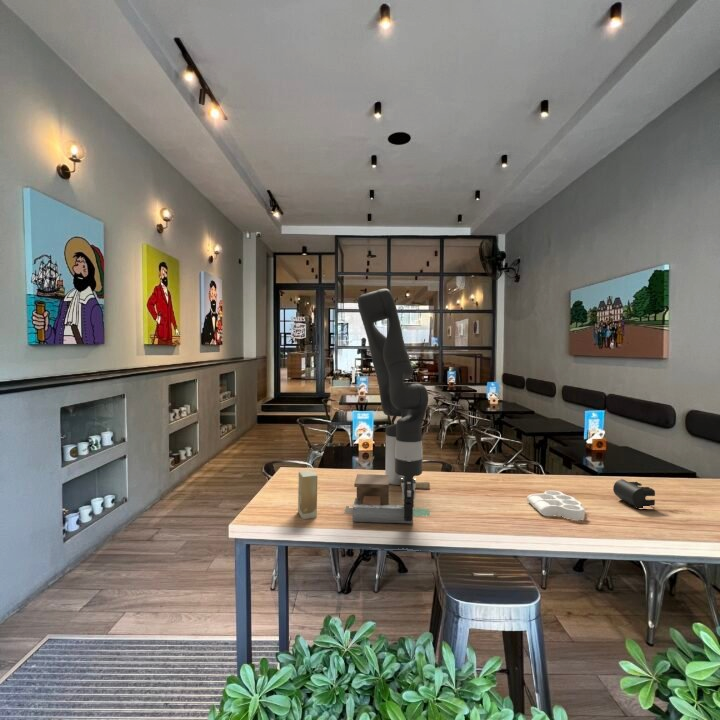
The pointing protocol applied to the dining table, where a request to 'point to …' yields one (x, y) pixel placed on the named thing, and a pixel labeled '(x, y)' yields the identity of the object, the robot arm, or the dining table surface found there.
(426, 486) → the dowel
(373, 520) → the crook
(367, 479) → the brown wooden box
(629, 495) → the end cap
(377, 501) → the block
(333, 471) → the dining table surface
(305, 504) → the skincare box
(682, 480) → the dining table surface
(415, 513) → the green flat plank
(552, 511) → the white segmented tray
